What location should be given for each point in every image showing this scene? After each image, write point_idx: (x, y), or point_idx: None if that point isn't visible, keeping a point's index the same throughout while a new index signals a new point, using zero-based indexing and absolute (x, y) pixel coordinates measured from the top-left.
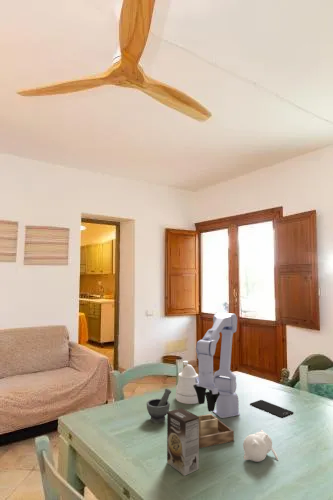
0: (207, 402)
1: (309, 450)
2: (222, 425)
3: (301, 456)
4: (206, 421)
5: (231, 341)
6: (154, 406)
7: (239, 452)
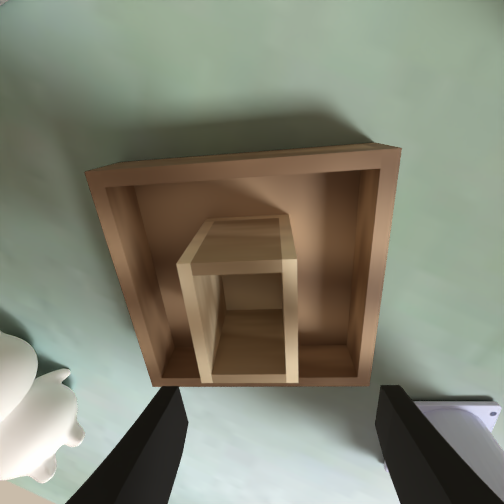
0: (108, 485)
1: None
2: None
3: None
4: (185, 304)
5: None
6: None
7: (74, 325)
